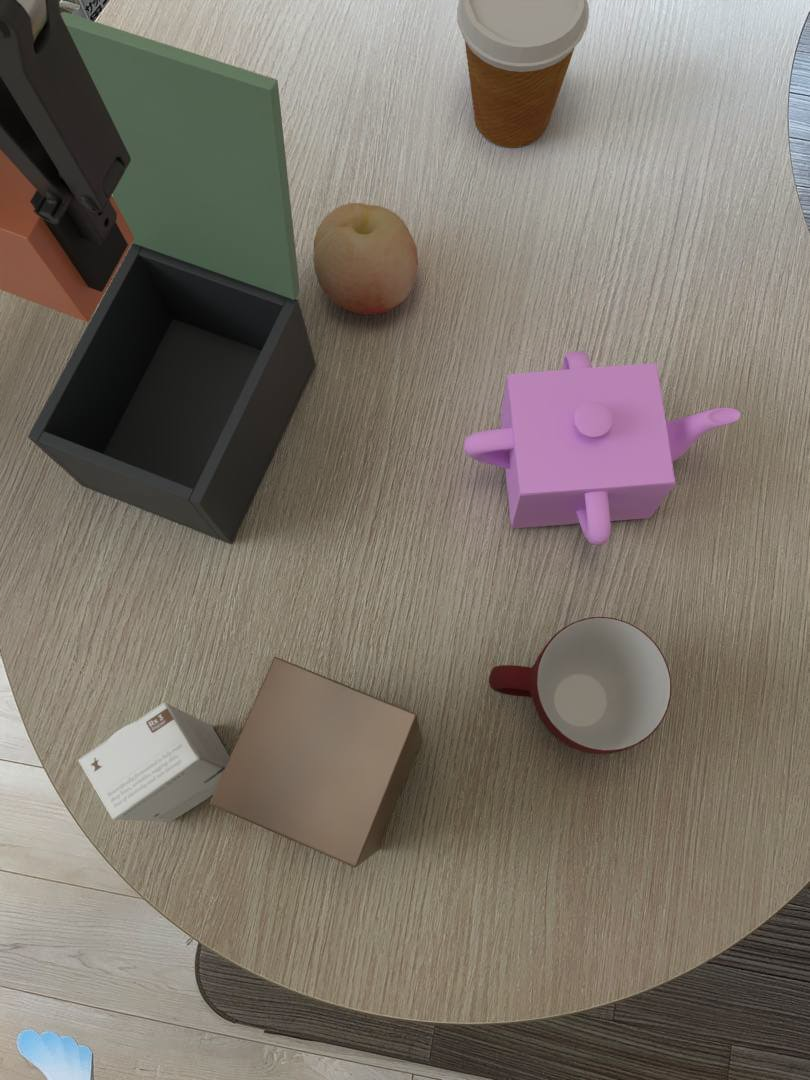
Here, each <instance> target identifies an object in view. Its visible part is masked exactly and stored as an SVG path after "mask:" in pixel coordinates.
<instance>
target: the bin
mask: <svg viewBox="0 0 810 1080" xmlns="http://www.w3.org/2000/svg"><path fill="white" fill-rule="evenodd" d="M316 366H317V362H316V359H315V355H314V352H313V348H312V345H311V342H310V338H309V333H308V331H307V328H306V324H305V319H304V316H303V312H302V309H301V305H300V301H299V300H298V299H297V298H296V299H295V300H293V299H290V298H288V297H285V296H282V295H279V294H276V293H273V292H271V291H268V290H265V289H262V288H259V287H256V286H253V285H251V284H248V283H245V282H242V281H239V280H236V279H234V278H231V277H228V276H225V275H222V274H219V273H217V272H214V271H211V270H208V269H205V268H202V267H199V266H197V265H194V264H191V263H188V262H185V261H182V260H180V259H177V258H174V257H171V256H168V255H165V254H163V253H160V252H157V251H154V250H151V249H148V248H145V247H143V246H140V245H137V244H134V243H132V244H131V246H130V247H129V249H128V251H127V253H126V255H125V257H124V258H123V260H122V262H121V264H120V266H119V267H118V269H117V271H116V273H115V275H114V277H113V278H112V280H111V282H110V284H109V286H108V287H107V289H106V291H105V293H104V295H103V297H102V298H101V300H100V302H99V304H98V306H97V307H96V309H95V311H94V313H93V315H92V317H91V318H90V320H89V322H88V324H87V326H86V328H85V330H84V332H83V333H82V335H81V337H80V339H79V341H78V343H77V345H76V347H75V348H74V350H73V352H72V354H71V356H70V357H69V359H68V360H67V363H66V365H65V367H64V368H63V371H62V373H60V376H59V378H58V379H57V382H56V383H55V385H54V387H53V389H52V391H51V393H50V394H49V397H48V399H47V400H46V402H45V404H44V406H43V407H42V409H41V411H40V413H39V415H38V416H37V419H36V421H35V422H34V424H33V426H32V428H31V429H30V432H29V433H28V435H27V438H28V439H29V440H30V441H31V442H32V443H34V445H36V446H37V447H38V448H39V449H40V450H41V451H42V452H43V453H45V454H46V455H47V456H48V457H49V458H50V459H51V460H53V461H54V462H55V463H56V464H57V465H58V466H60V468H61V469H62V470H64V472H66V473H67V474H68V475H69V476H70V477H72V478H73V479H74V480H75V481H76V482H77V483H78V484H79V485H80V486H81V487H84V488H86V489H89V490H92V491H94V492H96V493H99V494H102V495H104V496H107V497H109V498H111V499H115V500H117V501H120V502H122V503H125V504H127V505H130V506H132V507H135V508H138V509H140V510H143V511H145V512H148V513H151V514H153V515H155V516H158V517H161V518H163V519H166V520H168V521H171V522H173V523H175V524H179V525H181V526H183V527H186V528H189V529H191V530H194V531H196V532H199V533H201V534H204V535H207V536H209V537H211V538H213V539H216V540H219V541H222V542H224V543H226V544H229V545H233V543H234V542H235V539H236V537H237V534H238V533H239V531H240V528H241V526H242V524H243V522H244V519H245V518H246V516H247V513H248V511H249V509H250V507H251V505H252V503H253V501H254V498H255V496H256V495H257V492H258V490H259V488H260V486H261V484H262V481H263V479H264V477H265V475H266V473H267V471H268V468H269V466H270V464H271V462H272V460H273V458H274V456H275V453H276V451H277V449H278V447H279V444H280V443H281V440H282V438H283V436H284V434H285V432H286V430H287V428H288V425H289V423H290V421H291V420H292V417H293V415H294V413H295V411H296V409H297V406H298V404H299V402H300V400H301V399H302V396H303V394H304V392H305V389H306V388H307V385H308V383H309V381H310V378H311V376H312V375H313V372H314V370H315V368H316Z"/></svg>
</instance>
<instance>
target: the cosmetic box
mask: <svg viewBox="0 0 810 1080" xmlns="http://www.w3.org/2000/svg"><path fill="white" fill-rule="evenodd" d="M230 756H231V755H230V754H229V752H228V751H227V749H226V748H225V746H224V744H223V742H222V741H221V739H220V737H219V736H218V734H217V733H216V731H215V729H214V727H213V726H212V725H211V724H210V723H207V722H205V721H204V720H201V719H200V718H198V717H196V716H193V715H191V714H190V713H188V712H186V711H183V710H181V709H179V708H177V707H176V706H173V705H172V704H170V703H168V702H166V701H164V702H162V703H160V704H159V705H157V706H156V707H154V708H153V709H151V710H150V711H148V712H147V713H145V714H143V715H142V716H141V717H139V718H138V719H136V720H134V721H132V722H131V723H129V724H126V725H124V726H123V727H122V728H120V729H119V730H117V731H115V732H114V733H113V734H112V735H111V736H110V737H109V738H108V739H106V740H104V741H103V742H101V743H100V744H99V745H97V746H96V747H94V748H93V749H91V750H89V751H88V752H87V753H85V754H84V755H82V756H81V757H79V759H78V760H77V761H78V764H79V765H80V766H81V768H82V771H83V772H84V773H85V775H86V776H87V778H88V780H89V782H90V783H91V785H92V787H93V789H94V790H95V792H96V793H97V796H98V798H99V799H100V800H101V803H102V804H103V806H104V807H105V810H106V811H107V812H108V815H109V816H110V819H111V820H116V821H135V822H137V821H139V822H154V823H155V822H157V823H158V822H159V823H169V822H172V821H174V820H176V819H178V818H179V817H181V816H182V815H184V814H185V813H187V812H189V811H191V810H193V808H195V807H197V806H199V805H200V804H201V803H203V802H204V801H206V800H207V799H209V798H210V797H212V796H213V794H214V792H215V790H216V788H217V785H218V783H219V781H220V779H221V776H222V774H223V772H224V770H225V767H226V765H227V763H228V760H229V758H230Z"/></svg>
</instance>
